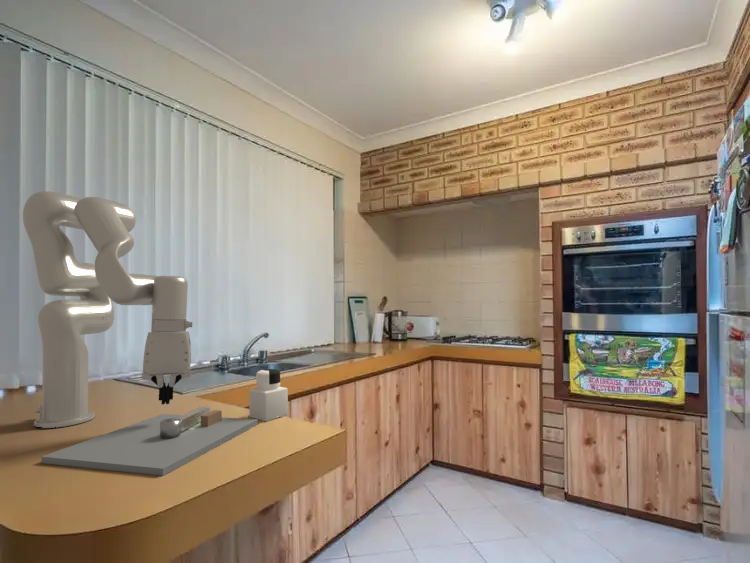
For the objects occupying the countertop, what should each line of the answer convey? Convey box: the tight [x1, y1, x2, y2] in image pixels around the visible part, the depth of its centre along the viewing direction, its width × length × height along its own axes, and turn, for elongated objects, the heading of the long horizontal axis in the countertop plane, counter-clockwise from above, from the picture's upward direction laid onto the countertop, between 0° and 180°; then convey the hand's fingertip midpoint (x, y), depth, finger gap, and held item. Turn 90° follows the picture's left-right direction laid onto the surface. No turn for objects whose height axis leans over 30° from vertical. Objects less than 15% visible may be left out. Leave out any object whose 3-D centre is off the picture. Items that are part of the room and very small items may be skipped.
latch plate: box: [40, 409, 259, 477], centre depth 89 cm, size 28×30×4 cm
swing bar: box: [160, 406, 211, 438], centre depth 94 cm, size 16×4×3 cm, turn 172°
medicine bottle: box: [248, 368, 289, 422], centre depth 106 cm, size 7×7×12 cm
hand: (165, 402), depth 99 cm, fingers closed
